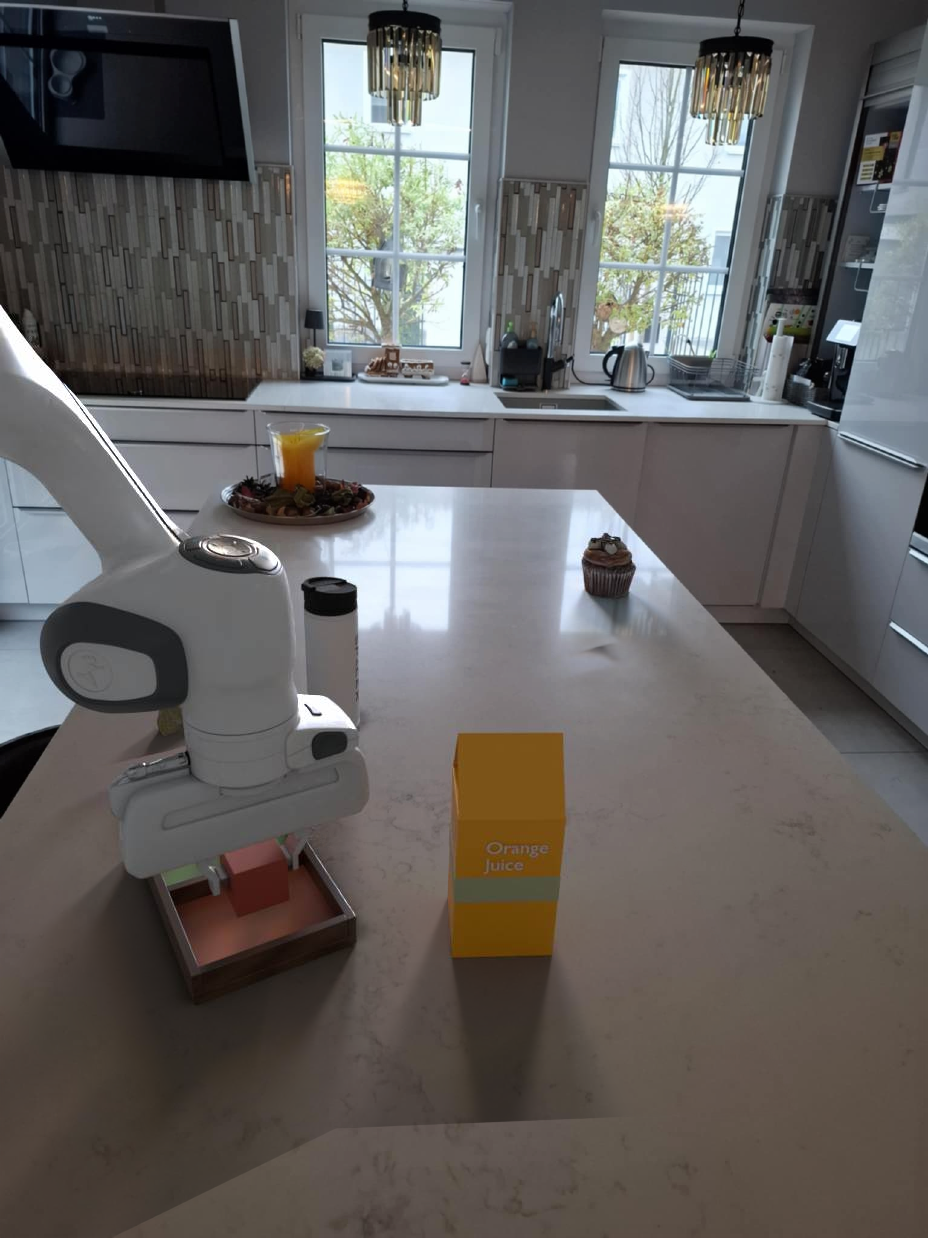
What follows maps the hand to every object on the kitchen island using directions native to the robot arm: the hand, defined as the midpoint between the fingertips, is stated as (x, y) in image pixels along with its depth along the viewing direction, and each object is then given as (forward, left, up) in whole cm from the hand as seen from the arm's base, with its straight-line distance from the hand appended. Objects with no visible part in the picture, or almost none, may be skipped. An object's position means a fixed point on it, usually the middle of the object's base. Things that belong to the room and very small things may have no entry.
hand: (254, 878), depth 74 cm
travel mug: (+19, +29, -6) cm, 35 cm away
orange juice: (+19, -9, -6) cm, 22 cm away
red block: (0, 0, -2) cm, 2 cm away
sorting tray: (0, +6, -6) cm, 8 cm away
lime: (+2, +36, -6) cm, 36 cm away
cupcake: (+81, +52, -6) cm, 96 cm away
